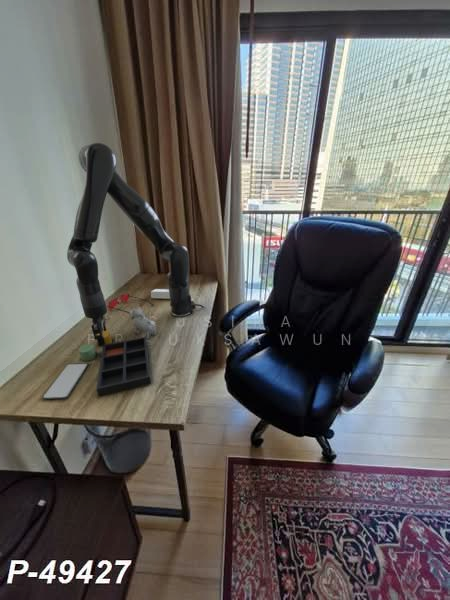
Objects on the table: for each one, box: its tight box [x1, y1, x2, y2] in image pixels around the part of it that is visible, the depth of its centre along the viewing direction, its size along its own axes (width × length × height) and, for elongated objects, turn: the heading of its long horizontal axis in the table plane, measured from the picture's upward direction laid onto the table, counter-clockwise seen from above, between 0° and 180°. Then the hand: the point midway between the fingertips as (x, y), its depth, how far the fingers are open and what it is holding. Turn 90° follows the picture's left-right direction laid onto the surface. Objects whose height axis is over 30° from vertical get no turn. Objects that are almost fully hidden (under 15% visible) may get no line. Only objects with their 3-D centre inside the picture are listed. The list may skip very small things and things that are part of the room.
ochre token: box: [96, 330, 113, 348], centre depth 99 cm, size 5×5×4 cm
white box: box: [150, 288, 170, 300], centre depth 134 cm, size 13×7×8 cm, turn 85°
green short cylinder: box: [78, 343, 97, 362], centre depth 91 cm, size 5×5×4 cm
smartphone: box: [42, 362, 89, 400], centre depth 81 cm, size 7×1×15 cm
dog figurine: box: [129, 306, 157, 340], centre depth 103 cm, size 5×13×11 cm, turn 52°
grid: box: [96, 336, 152, 397], centre depth 87 cm, size 15×23×3 cm
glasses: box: [106, 292, 154, 319], centre depth 123 cm, size 14×16×5 cm
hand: (103, 339), depth 99 cm, fingers open, 8 cm apart
